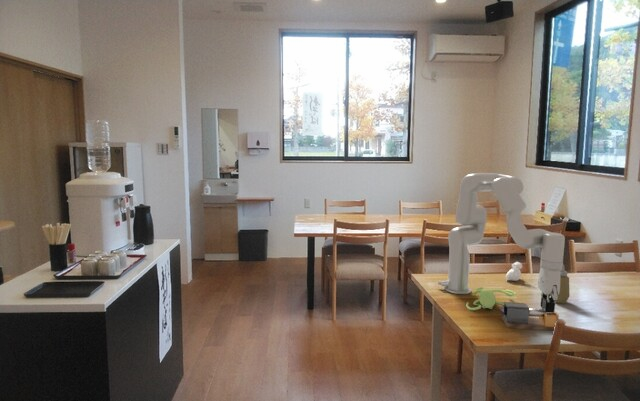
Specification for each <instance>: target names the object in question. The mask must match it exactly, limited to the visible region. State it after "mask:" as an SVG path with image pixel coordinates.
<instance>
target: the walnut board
mask: <svg viewBox="0 0 640 401" xmlns="http://www.w3.org/2000/svg"><path fill="white" fill-rule="evenodd" d="M501 320H502V321H503V323H504V324H505V325H506V327H507V328H508V329H520V330H521V329H522V330H537V331H547V332H548V331H549V332H555V331H554V327H546V326H544V325H543V323H542V322H541V321H540V320H539V317H529V319H528V324H517V323H506V321H505V320H504V318H503V315H501Z"/></svg>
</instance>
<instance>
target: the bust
mask: <svg viewBox="0 0 640 401" xmlns="http://www.w3.org/2000/svg"><path fill="white" fill-rule="evenodd" d="M522 268H523V264H522V263H521V262H519V261H515V262H514V263H512V264H511V269H509V271H507V273H506V275H505V280H506V281H514V282H517V281H519V280H520V279H521V277H522V272H521V269H522Z"/></svg>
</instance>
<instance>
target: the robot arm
mask: <svg viewBox="0 0 640 401" xmlns="http://www.w3.org/2000/svg"><path fill="white" fill-rule="evenodd" d="M523 191H524V184H523V181H522V180H521V179H520V178H518V177H517V176H512V175H507V174H502V173H496V172H476V173H469V174H467V175H465V176H464V177H463V178H461V181H460V185H459V196H458V200H457V205H456V210H455V222H456V224H458V225H461V226H457V227H454V228H452V229H451V230H449V232H448V235H447V238H448V239H447V240H448V246H449V250H448V251H449V254H448V255H449V256H448V258H449V260H448V272H447V275H448V276H447V278H446V280H437V285H440V286H442V287H443V289H444V290H445V291H446V292H447V293H451V294H455V295H468V294H471V292H472V288H470V287H469V279H470V278H469V275H470V264H471V263H470V262H471V261H470V258H471V256H470V251H469V249H468V247H470V246H476V245H479V244H480V243H481V242H482V241H483V238H484V236H485V230H486V225H487V221H488V214H487V213H488V212H487V209H486V208H485V207H484V206H483V205H481V204H478V200H479V197H478V193H479V192H480V193H482V192H484V193H486V192H492V193H493V194H494V196H495V198H496V199H497V201H498V202H499V204H500V205H501V208H502V209H503V210H504V212H505V214H506V219H505V220H506V221H505V222H506V228H507V231H508V233H509V235H510V236H511V239H513V241H514V243H515V244H516V245H517V246H518V247H519V248H521V249H523V250H531V249H539V248H541V253H540V264H539V267H540V269H539V272H538V273H539V274H538V281H537V288H538V290H539V291H541V293H540V294H541V295H540V296H541V298H540V307H541V308H542V297H546V298H547V302H546V306H545V311H546V312H554V311H555V308H556V304H557V303H556V300H557V299H558V295H559V292H560V271H561V270H562V265H563V264H564V263H563V262H564V252H565V242H566V240H565V239H566V238H565V235H563V233H559V232H551V231H549V230H546V229H543V228H533V229H527V227H526V225H525V224H524V222H523V221H522V216H521V215H522V212H523V211H524V210H525V209H526V208H527V203H526V202H525V201H524V199H523V198H522V196H521V194H522V193H523ZM477 192H478V193H477ZM550 293H552V294H550ZM551 296H552V297H551Z"/></svg>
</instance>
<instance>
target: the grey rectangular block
mask: <svg viewBox="0 0 640 401" xmlns="http://www.w3.org/2000/svg"><path fill="white" fill-rule="evenodd" d="M546 302H547V298H546V297H542V307H541V308H530V307H529V317H534V318H539V317H544V316H545V314H550V315H554V312H546V311H545V306H546Z"/></svg>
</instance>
